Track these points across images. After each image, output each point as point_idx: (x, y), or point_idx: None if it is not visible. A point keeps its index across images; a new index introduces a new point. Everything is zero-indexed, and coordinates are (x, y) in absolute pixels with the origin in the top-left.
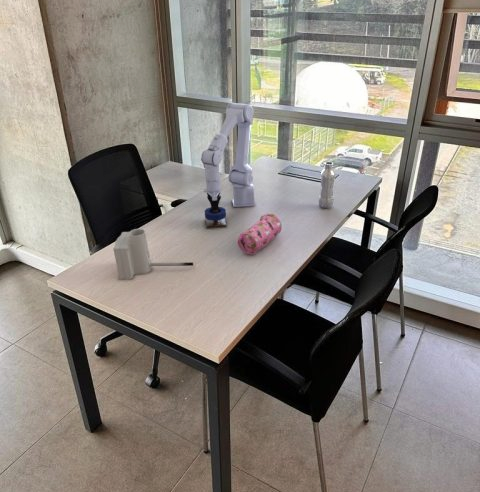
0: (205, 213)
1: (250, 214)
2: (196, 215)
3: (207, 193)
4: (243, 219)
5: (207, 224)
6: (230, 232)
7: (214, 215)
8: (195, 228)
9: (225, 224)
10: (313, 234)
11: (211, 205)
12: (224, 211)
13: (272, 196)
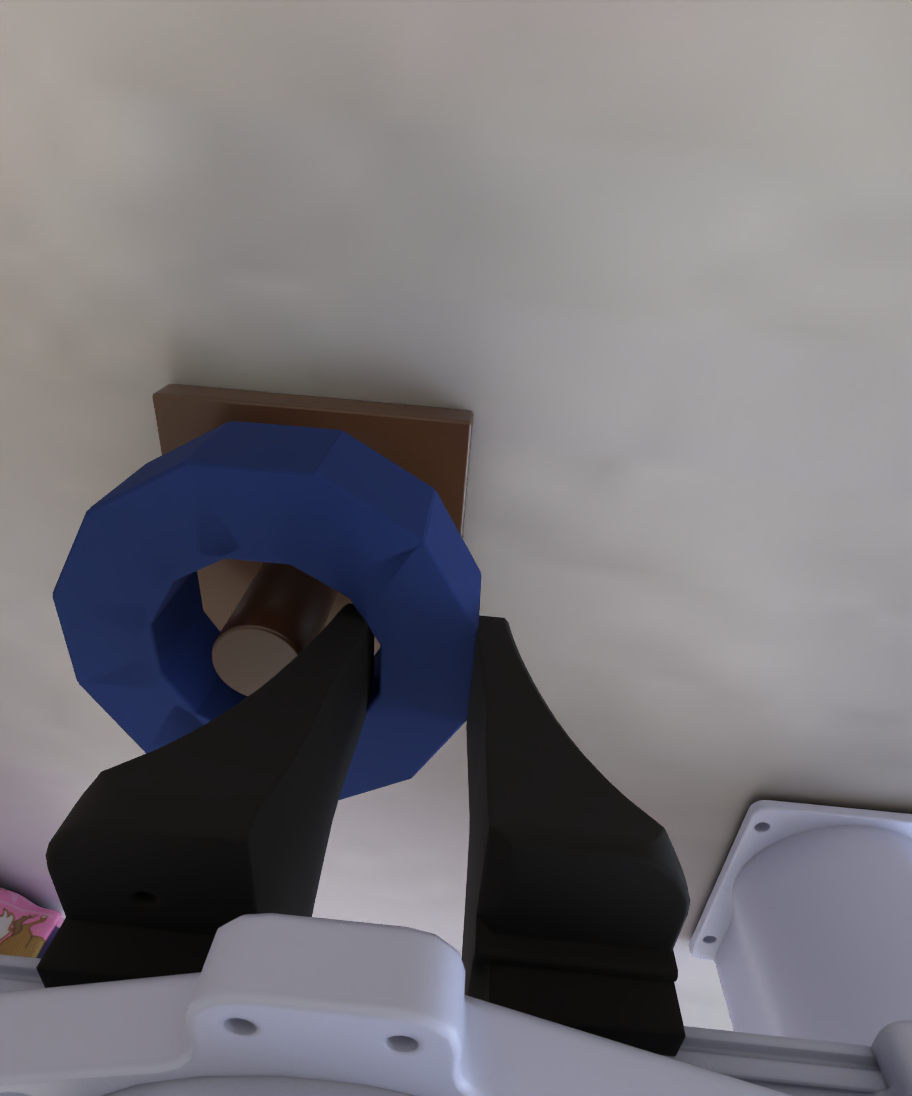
0: (158, 472)
1: None
2: (740, 258)
3: (537, 860)
4: (388, 812)
5: (218, 413)
6: (56, 647)
7: (59, 619)
8: (178, 175)
9: None
10: None
11: (272, 684)
12: None
13: None
